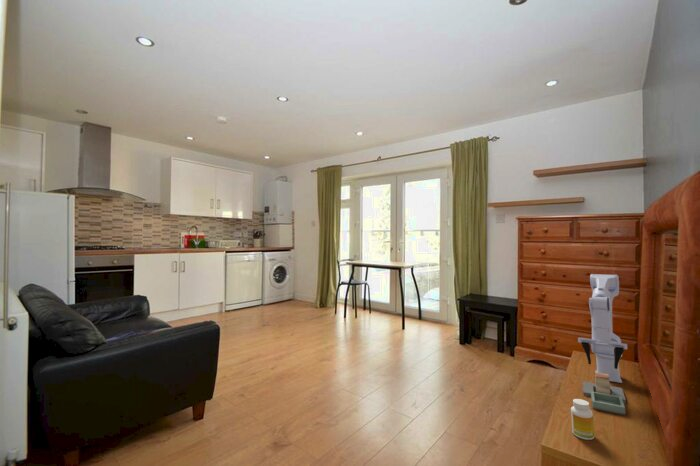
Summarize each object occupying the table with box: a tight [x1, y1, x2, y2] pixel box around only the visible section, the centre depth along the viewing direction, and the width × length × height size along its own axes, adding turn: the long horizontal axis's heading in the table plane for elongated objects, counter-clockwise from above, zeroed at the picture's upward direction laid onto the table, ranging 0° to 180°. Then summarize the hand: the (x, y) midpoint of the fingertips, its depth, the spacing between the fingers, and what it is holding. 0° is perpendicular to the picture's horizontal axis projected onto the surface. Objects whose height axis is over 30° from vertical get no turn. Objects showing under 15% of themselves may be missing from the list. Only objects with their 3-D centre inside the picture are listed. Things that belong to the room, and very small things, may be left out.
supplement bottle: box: [570, 398, 595, 441], centre depth 95 cm, size 5×5×10 cm
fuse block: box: [594, 371, 611, 395], centre depth 119 cm, size 4×4×7 cm
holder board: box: [582, 380, 627, 404], centre depth 119 cm, size 11×12×1 cm
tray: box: [590, 391, 626, 416], centre depth 110 cm, size 9×9×2 cm
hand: (602, 366), depth 118 cm, fingers open, 7 cm apart
